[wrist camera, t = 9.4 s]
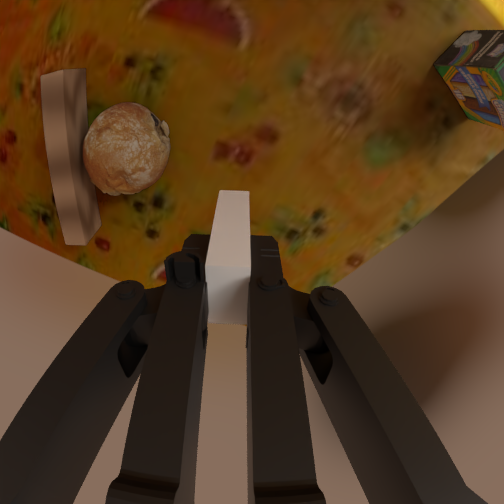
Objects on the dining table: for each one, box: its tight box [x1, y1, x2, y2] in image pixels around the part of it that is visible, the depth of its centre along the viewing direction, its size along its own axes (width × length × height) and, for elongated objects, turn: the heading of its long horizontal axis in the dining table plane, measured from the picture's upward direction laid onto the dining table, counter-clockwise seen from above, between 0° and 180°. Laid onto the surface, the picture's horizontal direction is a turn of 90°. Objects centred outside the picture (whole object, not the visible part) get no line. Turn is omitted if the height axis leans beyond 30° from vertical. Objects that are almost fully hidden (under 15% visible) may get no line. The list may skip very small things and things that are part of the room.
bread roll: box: [83, 102, 171, 196], centre depth 29 cm, size 10×10×8 cm
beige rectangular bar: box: [41, 68, 101, 245], centre depth 28 cm, size 20×3×5 cm, turn 177°
